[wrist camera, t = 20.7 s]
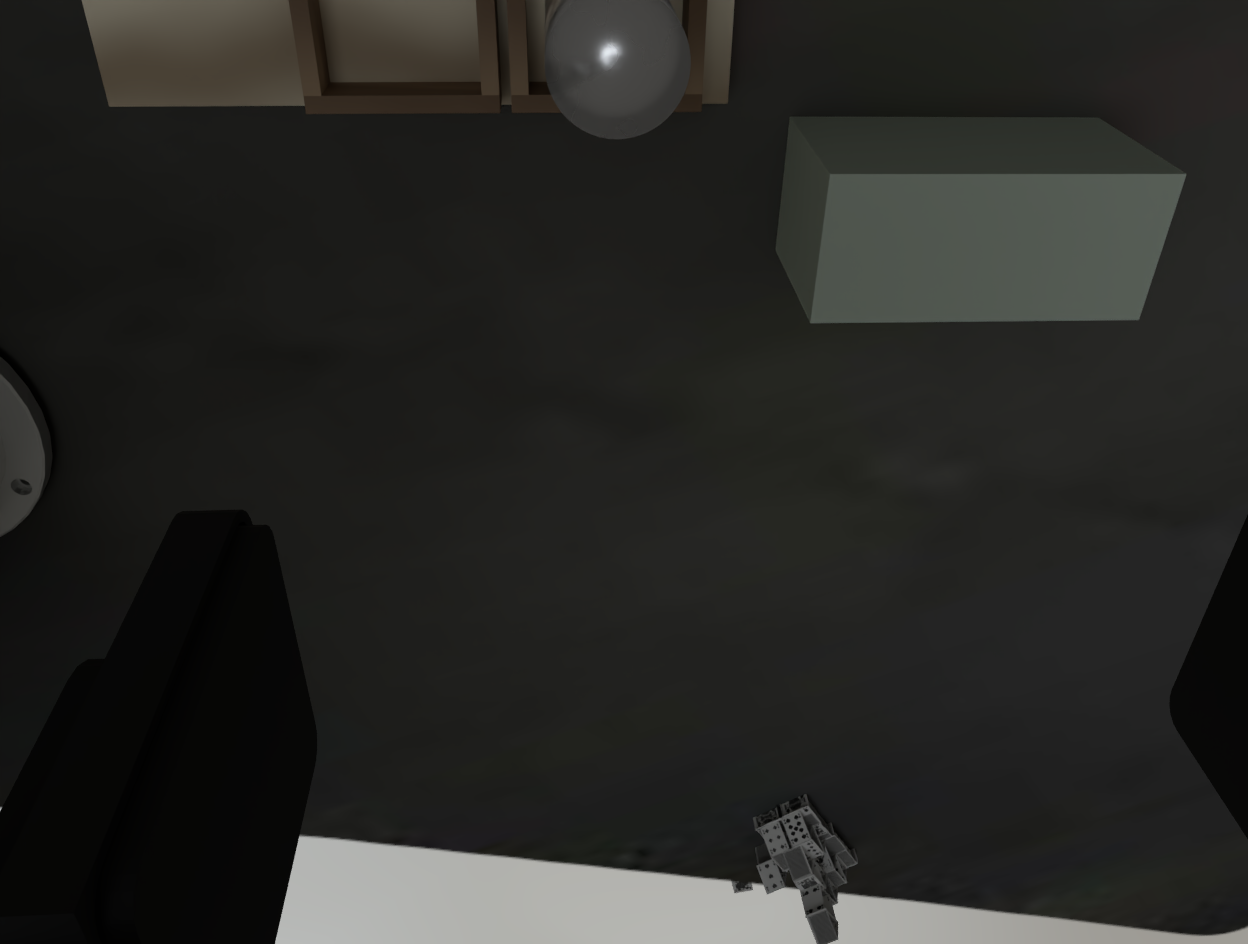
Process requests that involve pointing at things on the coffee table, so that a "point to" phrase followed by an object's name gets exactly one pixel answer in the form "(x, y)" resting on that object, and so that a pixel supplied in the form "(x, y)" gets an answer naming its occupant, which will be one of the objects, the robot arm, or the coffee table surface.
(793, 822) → the house of cards
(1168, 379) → the coffee table surface
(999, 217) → the housing
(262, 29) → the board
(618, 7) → the peg
